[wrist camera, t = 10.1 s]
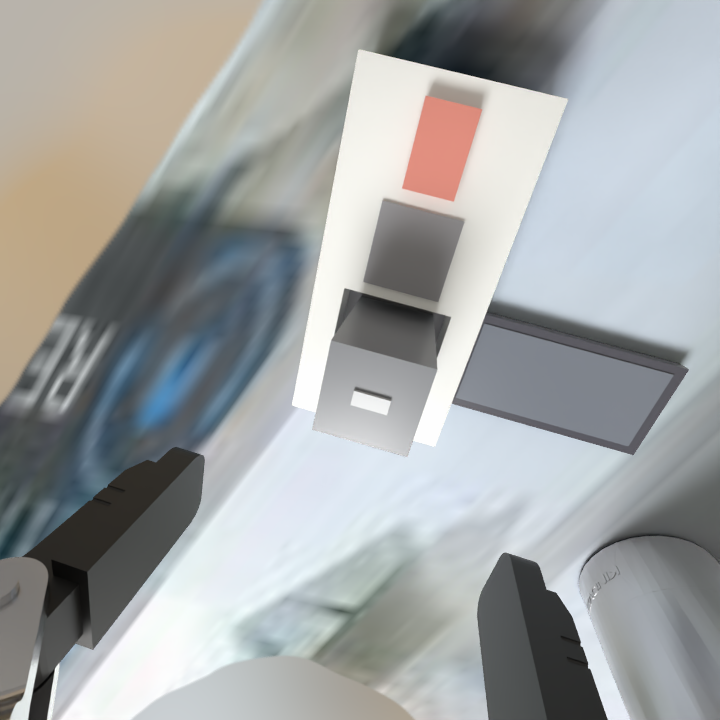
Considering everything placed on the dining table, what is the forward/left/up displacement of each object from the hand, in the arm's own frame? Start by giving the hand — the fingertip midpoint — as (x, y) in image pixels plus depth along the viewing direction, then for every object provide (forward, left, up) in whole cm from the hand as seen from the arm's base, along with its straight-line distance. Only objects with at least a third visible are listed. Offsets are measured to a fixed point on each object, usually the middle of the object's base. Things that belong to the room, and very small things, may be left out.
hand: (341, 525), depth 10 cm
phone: (-10, 0, -15) cm, 19 cm away
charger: (0, 0, -15) cm, 15 cm away
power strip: (0, -4, -15) cm, 16 cm away
